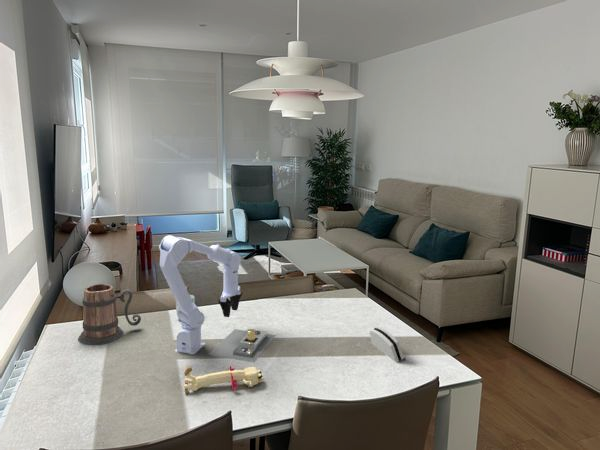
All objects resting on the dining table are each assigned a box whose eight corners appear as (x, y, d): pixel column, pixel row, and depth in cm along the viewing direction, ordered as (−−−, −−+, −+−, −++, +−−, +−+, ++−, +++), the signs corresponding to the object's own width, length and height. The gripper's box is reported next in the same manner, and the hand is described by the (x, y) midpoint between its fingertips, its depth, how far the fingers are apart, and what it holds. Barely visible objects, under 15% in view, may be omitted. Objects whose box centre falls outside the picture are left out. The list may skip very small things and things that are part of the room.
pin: (253, 347, 171) (253, 332, 170) (246, 346, 172) (246, 331, 170) (256, 344, 174) (256, 329, 173) (248, 343, 174) (249, 328, 173)
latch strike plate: (250, 357, 163) (250, 350, 163) (233, 354, 165) (233, 347, 164) (267, 337, 180) (267, 330, 180) (251, 334, 182) (251, 328, 182)
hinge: (407, 360, 166) (401, 337, 163) (397, 366, 164) (391, 343, 161) (382, 341, 181) (376, 320, 178) (372, 347, 179) (366, 325, 176)
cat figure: (185, 402, 138) (266, 388, 143) (182, 376, 136) (264, 363, 141) (186, 385, 147) (261, 372, 152) (183, 360, 145) (259, 349, 151)
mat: (254, 363, 160) (254, 362, 160) (208, 355, 164) (208, 354, 164) (275, 336, 183) (275, 335, 182) (234, 330, 187) (234, 329, 187)
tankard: (79, 349, 167) (76, 297, 163) (76, 331, 181) (73, 284, 177) (145, 337, 178) (143, 288, 175) (137, 321, 193) (135, 277, 189)
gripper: (232, 287, 170) (232, 321, 173) (247, 276, 184) (246, 308, 187) (215, 285, 172) (215, 318, 175) (231, 274, 186) (231, 306, 188)
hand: (230, 313), depth 181 cm, fingers open, 7 cm apart
